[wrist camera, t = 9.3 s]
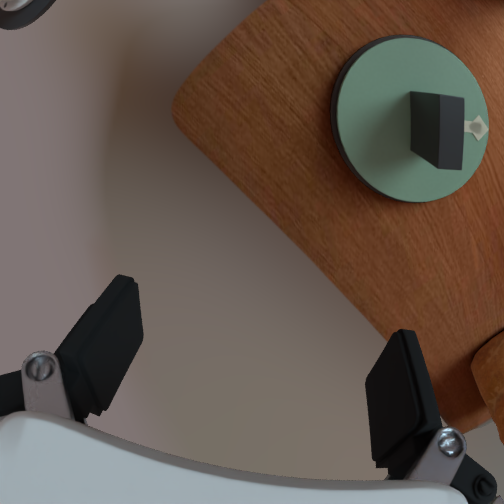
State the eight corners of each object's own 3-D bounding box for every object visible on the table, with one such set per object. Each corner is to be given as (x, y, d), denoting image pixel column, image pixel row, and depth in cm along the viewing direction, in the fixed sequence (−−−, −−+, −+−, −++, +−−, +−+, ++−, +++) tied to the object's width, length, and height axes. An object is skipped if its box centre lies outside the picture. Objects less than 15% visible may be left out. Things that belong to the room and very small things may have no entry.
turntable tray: (328, 33, 23) (339, 16, 17) (483, 53, 20) (525, 51, 14) (338, 200, 31) (348, 233, 25) (478, 201, 29) (513, 232, 22)
